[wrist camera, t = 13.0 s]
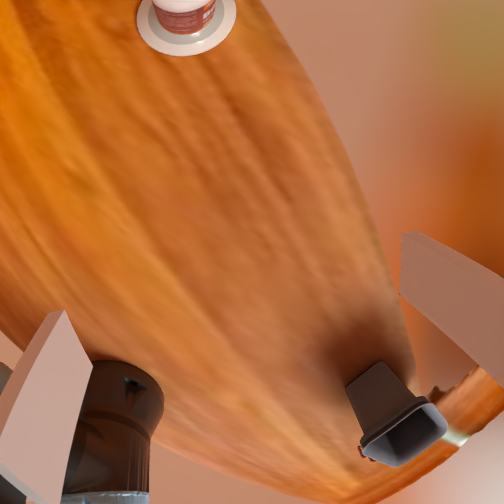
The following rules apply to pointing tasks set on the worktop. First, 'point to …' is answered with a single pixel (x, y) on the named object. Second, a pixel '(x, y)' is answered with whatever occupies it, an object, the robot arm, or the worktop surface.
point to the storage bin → (393, 417)
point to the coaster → (187, 43)
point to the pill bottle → (184, 15)
